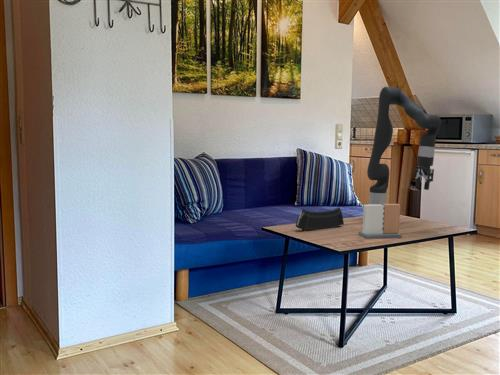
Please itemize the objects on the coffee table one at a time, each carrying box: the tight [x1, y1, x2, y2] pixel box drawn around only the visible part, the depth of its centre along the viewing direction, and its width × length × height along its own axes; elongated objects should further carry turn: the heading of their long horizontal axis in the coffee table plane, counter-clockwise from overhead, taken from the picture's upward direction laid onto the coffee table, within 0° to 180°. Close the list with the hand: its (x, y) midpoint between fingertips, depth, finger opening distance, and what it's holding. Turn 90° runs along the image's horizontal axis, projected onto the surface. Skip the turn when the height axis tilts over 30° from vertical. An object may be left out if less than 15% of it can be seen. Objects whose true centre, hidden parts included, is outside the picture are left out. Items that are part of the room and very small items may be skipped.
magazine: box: [295, 207, 345, 232], centre depth 262 cm, size 17×3×30 cm
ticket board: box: [357, 204, 402, 240], centre depth 247 cm, size 10×18×16 cm, turn 101°
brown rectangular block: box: [383, 203, 401, 234], centre depth 247 cm, size 3×8×14 cm, turn 101°
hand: (421, 188), depth 249 cm, fingers open, 8 cm apart
